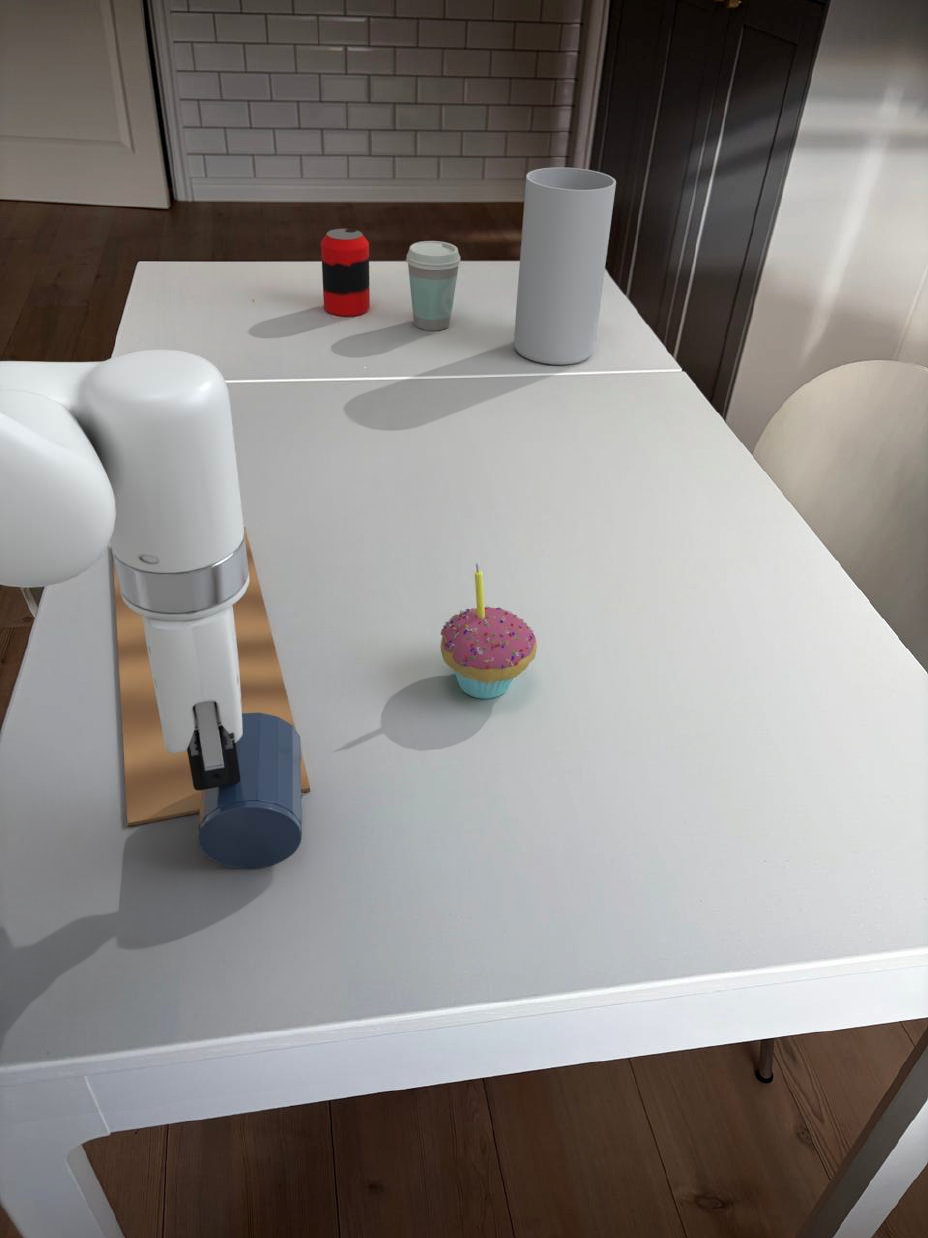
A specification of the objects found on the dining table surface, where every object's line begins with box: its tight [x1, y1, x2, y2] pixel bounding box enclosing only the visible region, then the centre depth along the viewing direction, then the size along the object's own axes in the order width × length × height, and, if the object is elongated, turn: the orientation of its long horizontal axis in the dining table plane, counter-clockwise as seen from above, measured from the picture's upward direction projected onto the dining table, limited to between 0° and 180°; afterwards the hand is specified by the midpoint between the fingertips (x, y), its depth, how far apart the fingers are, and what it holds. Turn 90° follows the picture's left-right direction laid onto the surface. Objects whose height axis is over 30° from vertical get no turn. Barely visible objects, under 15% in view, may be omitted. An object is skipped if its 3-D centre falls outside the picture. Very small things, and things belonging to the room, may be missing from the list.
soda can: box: [320, 228, 371, 317], centre depth 160 cm, size 8×8×12 cm
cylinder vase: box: [513, 167, 617, 366], centre depth 146 cm, size 12×12×25 cm
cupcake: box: [440, 562, 538, 700], centre depth 87 cm, size 9×8×12 cm
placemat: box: [112, 526, 311, 827], centre depth 92 cm, size 40×14×1 cm, turn 17°
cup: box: [197, 713, 303, 870], centre depth 74 cm, size 7×7×9 cm
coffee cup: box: [405, 240, 462, 332], centre depth 156 cm, size 8×9×12 cm
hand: (216, 778), depth 70 cm, fingers closed
